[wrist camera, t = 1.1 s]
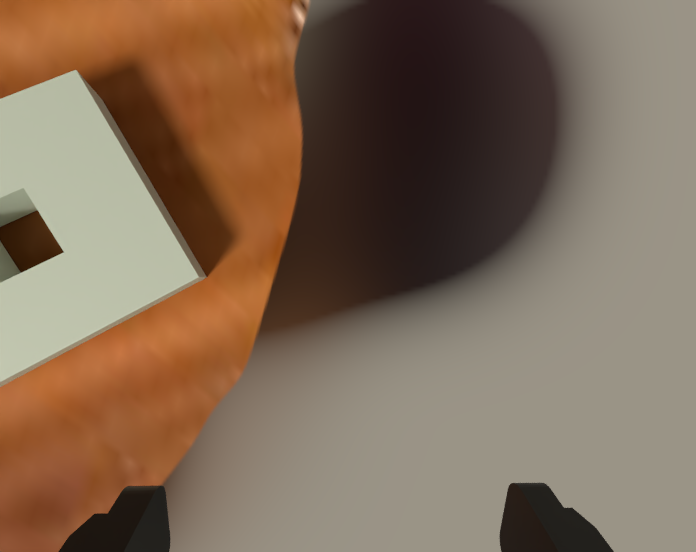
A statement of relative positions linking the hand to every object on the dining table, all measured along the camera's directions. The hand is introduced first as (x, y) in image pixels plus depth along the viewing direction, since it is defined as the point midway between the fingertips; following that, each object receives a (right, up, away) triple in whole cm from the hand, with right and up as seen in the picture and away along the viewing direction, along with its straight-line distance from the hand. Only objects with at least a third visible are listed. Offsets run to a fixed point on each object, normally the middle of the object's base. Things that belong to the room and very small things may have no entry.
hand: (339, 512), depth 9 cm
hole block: (-23, +8, +21) cm, 32 cm away
